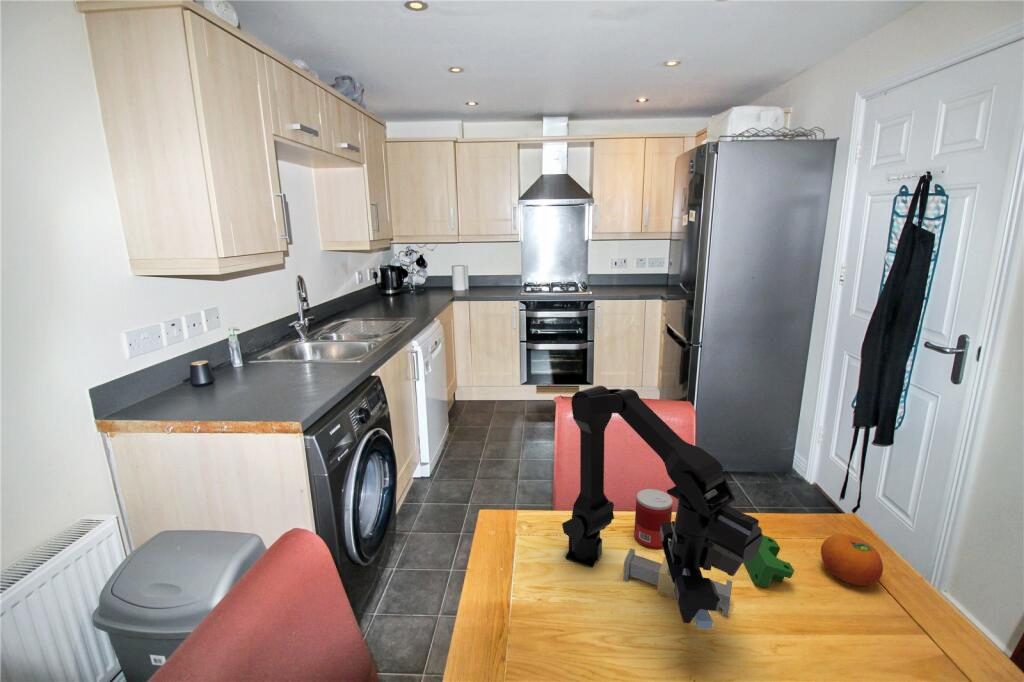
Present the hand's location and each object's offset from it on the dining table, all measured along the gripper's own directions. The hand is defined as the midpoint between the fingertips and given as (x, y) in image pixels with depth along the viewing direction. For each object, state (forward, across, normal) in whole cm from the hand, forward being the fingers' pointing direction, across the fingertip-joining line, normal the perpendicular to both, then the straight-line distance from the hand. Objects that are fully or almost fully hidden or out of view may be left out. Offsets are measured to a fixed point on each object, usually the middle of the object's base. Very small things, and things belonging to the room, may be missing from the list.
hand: (680, 601), depth 84 cm
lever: (+1, +3, -2) cm, 4 cm away
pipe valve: (+6, +10, -2) cm, 11 cm away
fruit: (+5, +19, -38) cm, 43 cm away
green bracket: (+6, +18, -22) cm, 28 cm away
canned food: (+6, +26, +1) cm, 26 cm away
